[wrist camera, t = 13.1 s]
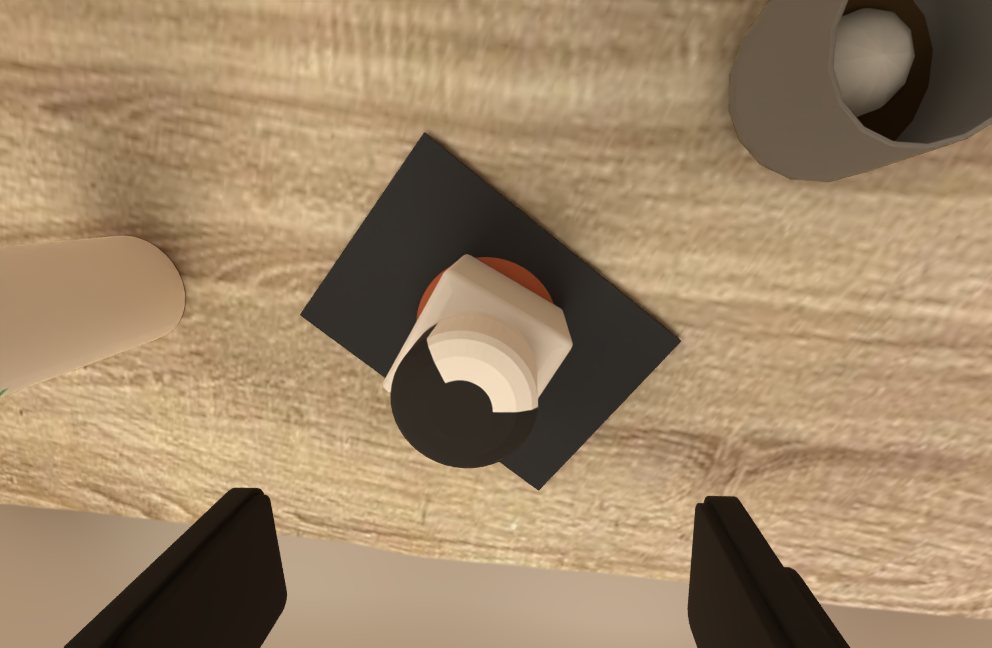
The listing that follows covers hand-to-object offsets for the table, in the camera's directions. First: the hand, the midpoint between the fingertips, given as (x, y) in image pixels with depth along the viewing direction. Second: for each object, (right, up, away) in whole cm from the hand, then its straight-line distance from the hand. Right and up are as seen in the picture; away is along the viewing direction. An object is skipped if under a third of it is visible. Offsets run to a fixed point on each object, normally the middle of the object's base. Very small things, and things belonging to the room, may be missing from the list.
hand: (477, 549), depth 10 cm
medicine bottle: (0, +5, +20) cm, 21 cm away
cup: (+17, +18, +16) cm, 29 cm away
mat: (0, +5, +21) cm, 21 cm away
